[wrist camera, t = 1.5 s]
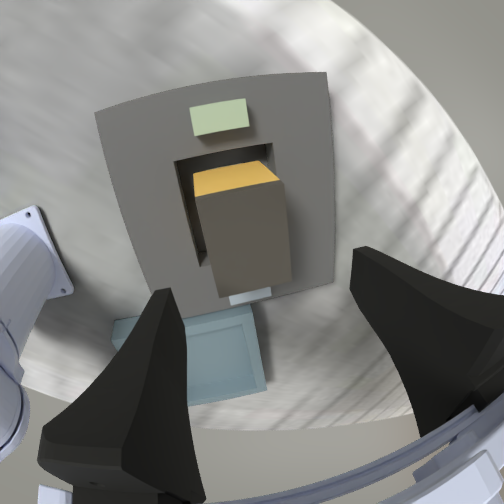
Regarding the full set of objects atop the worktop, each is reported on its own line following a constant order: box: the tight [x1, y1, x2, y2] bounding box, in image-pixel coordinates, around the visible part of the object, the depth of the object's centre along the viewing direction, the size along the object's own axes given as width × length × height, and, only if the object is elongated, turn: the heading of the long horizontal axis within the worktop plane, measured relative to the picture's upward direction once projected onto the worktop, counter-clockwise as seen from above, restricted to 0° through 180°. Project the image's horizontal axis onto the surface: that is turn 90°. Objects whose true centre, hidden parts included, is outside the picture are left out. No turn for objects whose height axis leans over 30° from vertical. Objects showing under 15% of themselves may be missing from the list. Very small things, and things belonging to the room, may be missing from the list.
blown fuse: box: [193, 161, 292, 298], centre depth 17 cm, size 4×6×7 cm
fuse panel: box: [95, 72, 335, 319], centre depth 18 cm, size 14×16×3 cm
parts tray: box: [111, 304, 267, 406], centre depth 26 cm, size 12×12×2 cm
